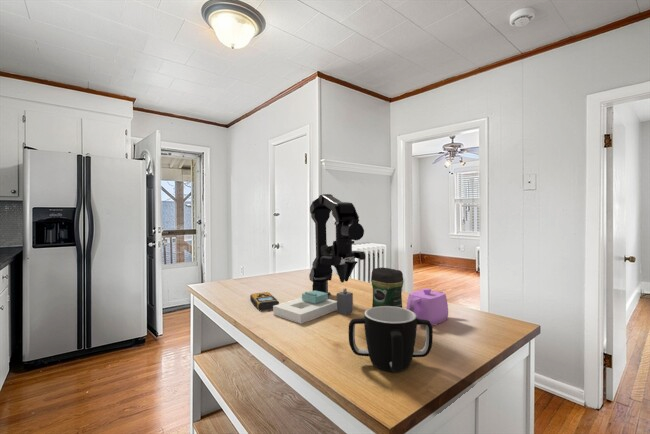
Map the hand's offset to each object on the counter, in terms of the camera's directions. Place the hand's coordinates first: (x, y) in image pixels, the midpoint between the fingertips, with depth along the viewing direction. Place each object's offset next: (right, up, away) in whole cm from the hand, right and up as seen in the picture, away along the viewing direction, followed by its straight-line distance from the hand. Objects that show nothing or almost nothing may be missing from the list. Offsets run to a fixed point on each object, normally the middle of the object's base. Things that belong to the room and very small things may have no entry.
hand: (344, 281), depth 111 cm
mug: (+9, -12, -37) cm, 40 cm away
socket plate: (-14, -11, +1) cm, 18 cm away
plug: (0, -11, 0) cm, 11 cm away
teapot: (+28, -11, -7) cm, 31 cm away
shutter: (-11, -8, +5) cm, 14 cm away
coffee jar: (+12, -12, -15) cm, 22 cm away
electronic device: (-31, -12, +12) cm, 35 cm away
